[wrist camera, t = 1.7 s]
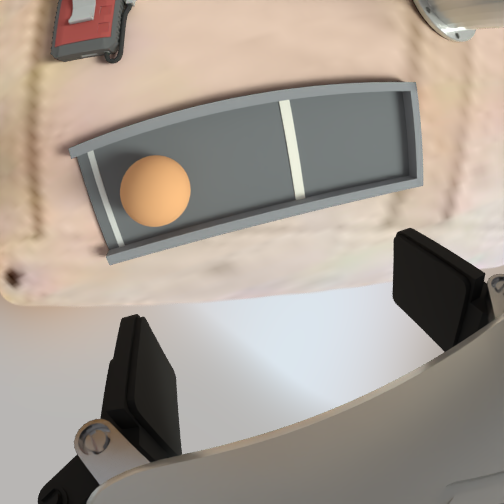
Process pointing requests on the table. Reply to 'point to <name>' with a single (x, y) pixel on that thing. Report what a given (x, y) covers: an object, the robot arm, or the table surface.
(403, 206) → the table surface
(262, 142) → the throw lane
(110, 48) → the walkie-talkie
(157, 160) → the ball
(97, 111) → the table surface
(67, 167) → the table surface
